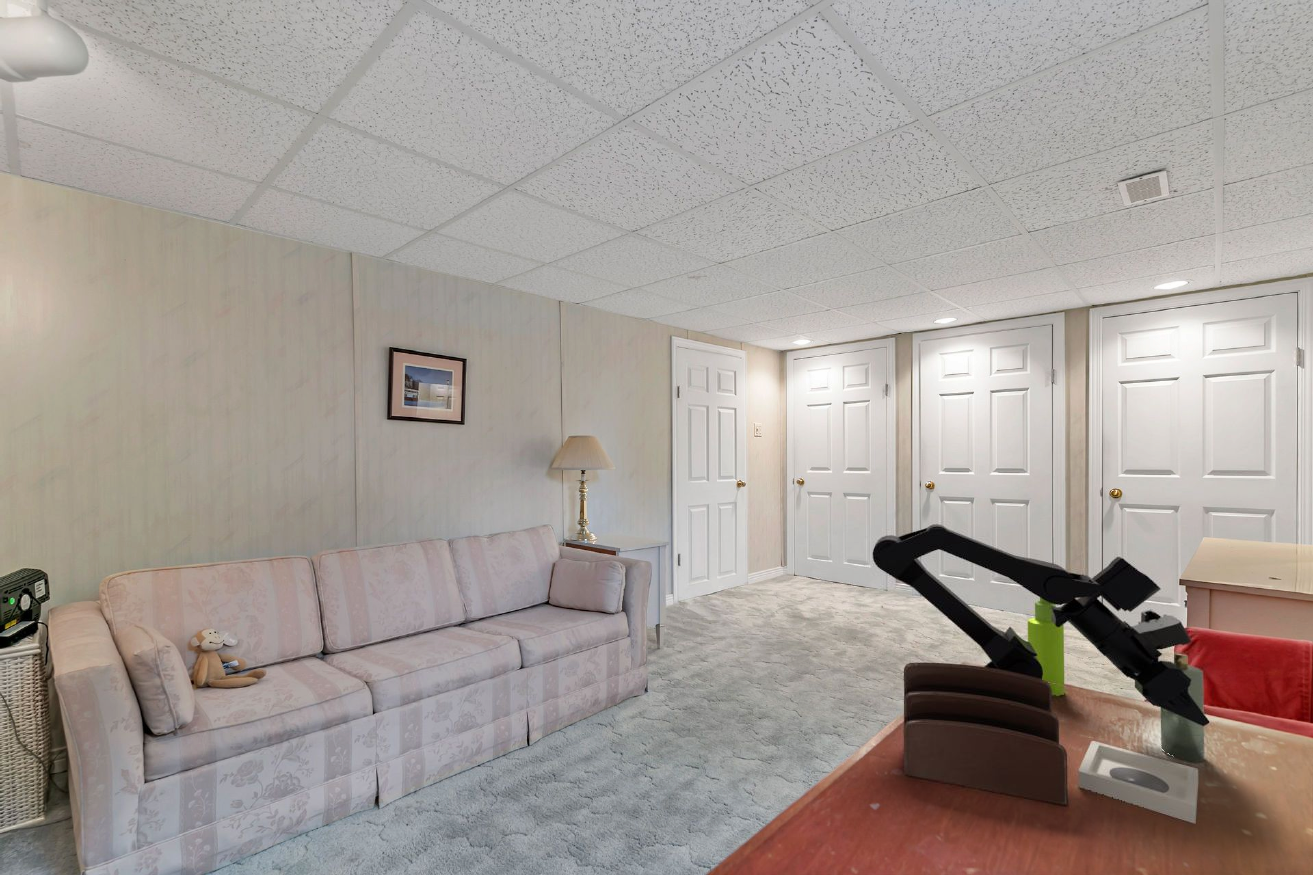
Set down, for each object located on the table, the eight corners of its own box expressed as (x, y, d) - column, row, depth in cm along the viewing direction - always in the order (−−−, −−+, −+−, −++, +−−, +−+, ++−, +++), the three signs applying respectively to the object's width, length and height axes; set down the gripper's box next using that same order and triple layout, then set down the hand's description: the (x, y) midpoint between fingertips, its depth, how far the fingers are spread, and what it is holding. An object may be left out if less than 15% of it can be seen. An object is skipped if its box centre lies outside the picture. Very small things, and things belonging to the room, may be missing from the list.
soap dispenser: (1076, 697, 113) (1074, 590, 114) (1035, 694, 115) (1034, 588, 115) (1062, 685, 119) (1060, 583, 120) (1023, 683, 120) (1022, 582, 121)
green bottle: (1160, 754, 92) (1158, 654, 93) (1162, 742, 96) (1160, 647, 96) (1204, 765, 89) (1202, 662, 89) (1204, 753, 92) (1203, 654, 93)
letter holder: (903, 745, 95) (903, 655, 95) (1052, 771, 87) (1050, 673, 88) (903, 776, 86) (902, 676, 86) (1068, 808, 78) (1067, 699, 79)
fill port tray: (1078, 786, 83) (1078, 770, 83) (1092, 755, 92) (1091, 740, 92) (1195, 823, 75) (1195, 805, 75) (1198, 784, 84) (1197, 768, 84)
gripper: (1171, 612, 86) (1275, 703, 81) (1128, 585, 103) (1212, 659, 98) (1105, 660, 89) (1202, 751, 84) (1074, 626, 106) (1153, 700, 101)
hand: (1193, 711), depth 92 cm, fingers open, 9 cm apart
